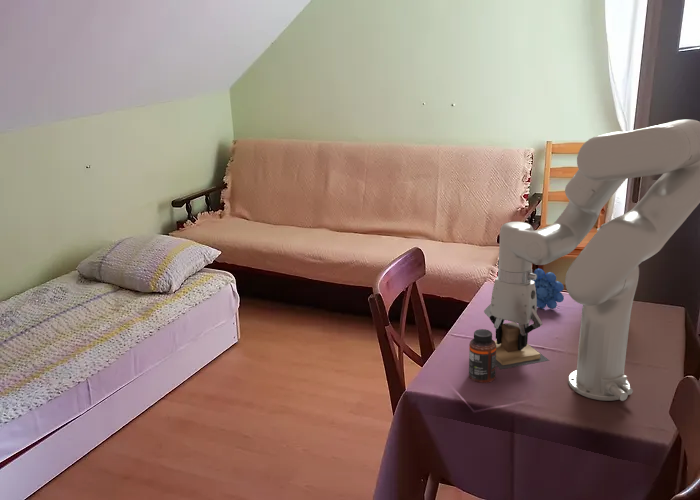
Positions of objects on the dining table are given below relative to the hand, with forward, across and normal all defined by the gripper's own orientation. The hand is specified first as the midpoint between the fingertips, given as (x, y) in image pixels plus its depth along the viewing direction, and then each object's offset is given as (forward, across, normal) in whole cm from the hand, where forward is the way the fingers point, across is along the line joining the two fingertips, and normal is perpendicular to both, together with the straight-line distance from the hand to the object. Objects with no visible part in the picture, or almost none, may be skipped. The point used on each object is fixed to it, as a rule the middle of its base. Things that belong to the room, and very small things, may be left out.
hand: (511, 344), depth 153 cm
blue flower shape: (+3, +5, -30) cm, 31 cm away
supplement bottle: (+3, 0, +14) cm, 15 cm away
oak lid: (+2, 0, 0) cm, 2 cm away
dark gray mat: (+3, 0, 0) cm, 3 cm away
